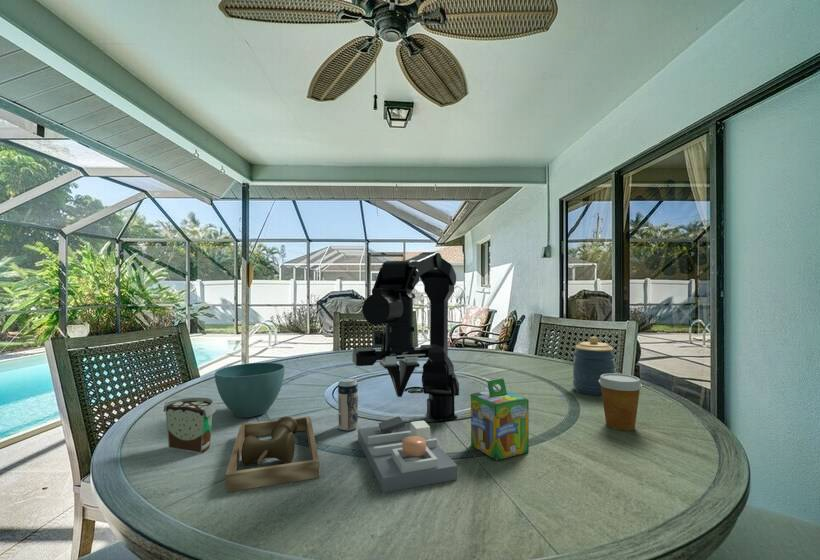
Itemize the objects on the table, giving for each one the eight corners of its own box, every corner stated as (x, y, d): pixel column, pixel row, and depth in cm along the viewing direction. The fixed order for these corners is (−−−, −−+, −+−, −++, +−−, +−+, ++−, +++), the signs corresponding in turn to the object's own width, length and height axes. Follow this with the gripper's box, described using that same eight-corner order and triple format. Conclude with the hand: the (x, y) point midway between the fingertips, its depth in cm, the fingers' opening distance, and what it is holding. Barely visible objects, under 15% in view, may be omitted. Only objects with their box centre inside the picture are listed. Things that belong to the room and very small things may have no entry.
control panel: (415, 432, 96) (415, 415, 96) (457, 479, 73) (457, 457, 73) (358, 439, 91) (358, 422, 91) (383, 492, 68) (383, 469, 68)
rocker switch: (399, 420, 92) (398, 416, 92) (404, 426, 88) (403, 421, 88) (379, 427, 91) (378, 423, 91) (383, 433, 87) (382, 429, 87)
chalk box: (496, 462, 79) (495, 388, 79) (469, 445, 87) (468, 378, 87) (531, 452, 84) (530, 382, 84) (501, 437, 92) (501, 373, 92)
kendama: (308, 438, 94) (284, 477, 74) (267, 440, 94) (232, 480, 74) (307, 412, 94) (283, 445, 74) (266, 414, 94) (231, 447, 74)
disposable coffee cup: (646, 425, 98) (646, 376, 98) (636, 436, 91) (636, 384, 91) (605, 416, 105) (605, 371, 105) (593, 426, 98) (592, 377, 98)
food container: (228, 443, 90) (228, 399, 90) (206, 454, 84) (206, 407, 84) (187, 436, 94) (187, 394, 94) (163, 447, 88) (163, 402, 88)
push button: (421, 445, 77) (421, 434, 77) (429, 454, 73) (429, 443, 73) (399, 448, 76) (399, 437, 76) (406, 457, 72) (406, 446, 72)
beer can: (354, 432, 96) (353, 382, 96) (335, 431, 97) (335, 381, 97) (360, 425, 100) (360, 377, 100) (342, 424, 101) (342, 377, 101)
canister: (565, 386, 135) (564, 334, 135) (601, 384, 136) (600, 333, 136) (586, 397, 122) (585, 340, 122) (625, 395, 123) (625, 339, 123)
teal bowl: (199, 419, 106) (199, 373, 106) (250, 399, 123) (249, 360, 123) (252, 427, 99) (251, 379, 99) (298, 406, 116) (297, 364, 116)
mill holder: (310, 428, 99) (310, 416, 99) (319, 477, 74) (319, 461, 74) (240, 436, 94) (240, 423, 94) (225, 492, 69) (225, 475, 69)
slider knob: (423, 436, 86) (423, 420, 86) (430, 443, 82) (430, 426, 82) (410, 438, 85) (410, 422, 85) (416, 445, 81) (416, 428, 81)
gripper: (428, 317, 93) (429, 384, 92) (348, 319, 87) (348, 390, 87) (446, 320, 82) (446, 396, 82) (356, 323, 77) (356, 404, 76)
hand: (399, 396), depth 82 cm, fingers closed
